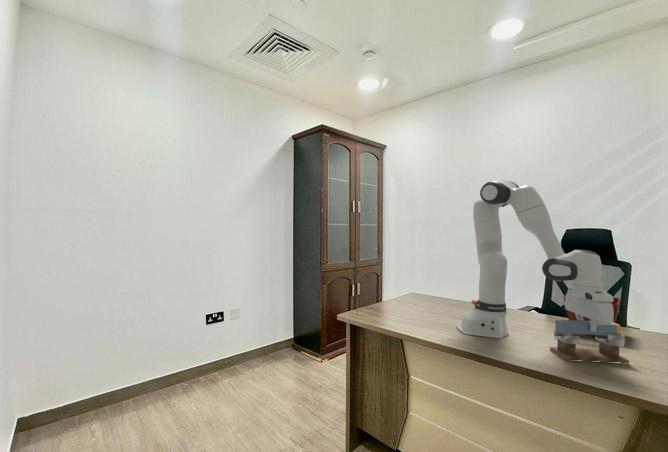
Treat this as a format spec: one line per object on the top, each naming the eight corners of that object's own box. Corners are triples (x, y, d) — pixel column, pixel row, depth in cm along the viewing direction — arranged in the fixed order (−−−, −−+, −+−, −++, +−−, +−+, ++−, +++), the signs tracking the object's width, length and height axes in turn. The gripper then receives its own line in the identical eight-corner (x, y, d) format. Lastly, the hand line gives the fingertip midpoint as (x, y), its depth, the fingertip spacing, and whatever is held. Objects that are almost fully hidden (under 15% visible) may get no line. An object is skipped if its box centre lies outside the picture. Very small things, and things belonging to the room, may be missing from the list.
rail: (562, 333, 112) (562, 322, 112) (555, 329, 116) (555, 319, 116) (620, 335, 109) (620, 325, 109) (611, 332, 113) (611, 321, 113)
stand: (565, 360, 109) (565, 333, 109) (550, 350, 118) (550, 325, 118) (629, 364, 107) (629, 336, 107) (608, 354, 116) (608, 328, 116)
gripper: (560, 286, 123) (560, 319, 123) (597, 297, 103) (598, 337, 103) (576, 287, 123) (576, 320, 122) (617, 298, 102) (618, 338, 102)
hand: (586, 328), depth 112 cm, fingers closed on rail, 4 cm apart
